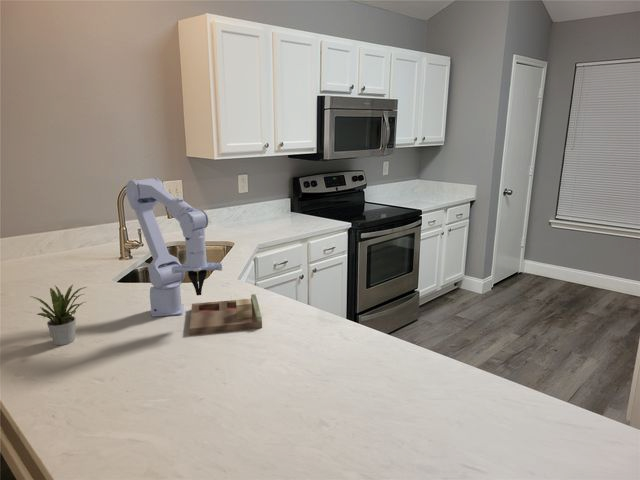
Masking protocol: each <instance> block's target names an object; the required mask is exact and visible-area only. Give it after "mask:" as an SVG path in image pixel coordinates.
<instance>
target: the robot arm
mask: <svg viewBox="0 0 640 480" xmlns="http://www.w3.org/2000/svg"><path fill="white" fill-rule="evenodd" d="M125 195H126V198H127V201H128V202H129V205H130V207H131V209H133V210H134V212H135V215H136V217H137V221H138V223H139V225H140V228H141V231H142V234H143V236H144V238H145V241H146V245H147V248H148V250H149V252H150V255H151V257H152V261H151V262H150V263H149V264H148V266H147V271H148V274H149V275H148V276H149V281H150V284H151V285H152V286H150V287H149V303H150V311H151V313H150V314H151V315H150V316H151V317H152V318H153V317H155V318H157V317H164V316H166V317H167V316H176V315H178V316H179V315H183V312H184V304H183V303H182V295H181V294H182V293H181V285H182V281H184V279H185V275H186V273H187V276H188V278H189V281H190V282H191V283H192V286H193V287H194V290H195V294H196V296H202V290H203V285H204V282H205V280H206V277H207V273H208V272H210V271H211V272H212V271H223V264H222V262H207V261H208V260H207V250H206V249H207V246H206V230H205V229H207V227H209V216H208V214H207V213H206V212H205V210H204V209H202V208H201V209H200V208H199V209H197V208H194V207H193V206H192V205H190V204H189V203H187V202H186V201H184V198H183V197H174V196H173V195H172V194H171V193H170V192H169V191H167V189H166V188H165V187H164V184H163V181H161V180H160V179H159V178H157V177H152V178H145V179H144V178H143V179H142V178H141V179H130V180H128V181H127V183H126V186H125ZM158 203H159V204H161V205H163V206H165V208H166V211H167V213H168V214H169V215H170V216H172V217H173V219H175V220H176V221H178V222H179V223H178V224H179V226H180V228H181V230H182V235H183V238H184V240H185V253H186V254H185V255H186V263H183V264H181V262H180V260H179V259H178V257H176V256H174V255H173V254H170V252H169V250H168V248H167V244H166V242H165V240H164V237H163V234H162V231H161V229H160V226H159V224H158V221H157V218H156V216H155V213H154V211H153V209H154V207H156V205H158Z"/></svg>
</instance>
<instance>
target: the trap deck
mask: <svg viewBox="0 0 640 480" xmlns="http://www.w3.org/2000/svg"><path fill="white" fill-rule="evenodd" d="M250 297H251V298H250V299H251V303H252V318H242V319H237V310H236V300H237V299H231V300H220V301H207V302H196V303H195V302H194V303H192V304H191V311H190V318H189V327H188V328H189V336H193V335H194V336H195V335H201V334H202V335H203V334H212V333H215V334H216V333H222V332H223V333H224V332H234V331H243V330H251V329H252V330H253V329H255V330H256V329H263V319H262V318H263V316H262V313H261V309H260V306H259V302H258V298H257V294H255V293H253V294H250Z"/></svg>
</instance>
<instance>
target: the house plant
mask: <svg viewBox="0 0 640 480" xmlns="http://www.w3.org/2000/svg"><path fill="white" fill-rule="evenodd" d="M54 287H55V289H54V288H51V287H50V288H49V292H50V296H51V304H52V308H53V309H52V308H51V306H50V305H49V304H48V303H47V302H45V301H44V300H42V299H40V298H38V297H37V296H33V295H31V296H29V297H30V298H33V299H35V300H37V301H39V302H40V303H41V304H43V306H45V307H46V308H47V309H48V310H49V311H48V310H47V309H45V308H44V307H42V306H40V307H39V308H40V309H41V311H42V312H38V313H36V314H35V315H36V316H42V319H44V318H47V319H49V320H47V322H46V325H47V327H48V331H49V333H50V336H51V338H52V342H53V345H56V346H64V345H69V344H71V343H73V342H75V340H76V327H77V325H76V324H77V323H76V322H77V321H76V320H77V318H76V317H75V314H76V312H77V309H78V308H79V307H80V306H82V305H83V304H84V303H85V304H86V301H83V302H82V301H81V303H74V302H75V301H76V300H77V299H78V298H79V297H80V296H82V295H84V293H81V294H79V295H76V294H78V293H79V292H80V291H81V290H83V289H86V288H87V286H84V287H81V288H78V289H77V290H76V291H74V292H73V293H72V295H71V292H72V290H73V287H74V284H71V285H70V286H69V287H68V289H67V291H66V293H65V294H62V292H61V290H60V289H59V288H58V286H56V285H54ZM55 290H56V291H55ZM56 292H57V293H56ZM69 297H70V298H69ZM73 298H74V299H73ZM71 301H72V303H71V304H70V302H71ZM69 305H70V306H69ZM68 307H69V308H68ZM74 307H75V308H74ZM73 308H74V309H73ZM72 309H73V310H72ZM73 315H74V316H73Z"/></svg>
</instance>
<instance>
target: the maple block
mask: <svg viewBox="0 0 640 480" xmlns="http://www.w3.org/2000/svg"><path fill="white" fill-rule="evenodd" d="M235 300H236V310H237V319H242V318H252V303H251V298H242V299H241V298H239V299H235Z"/></svg>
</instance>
